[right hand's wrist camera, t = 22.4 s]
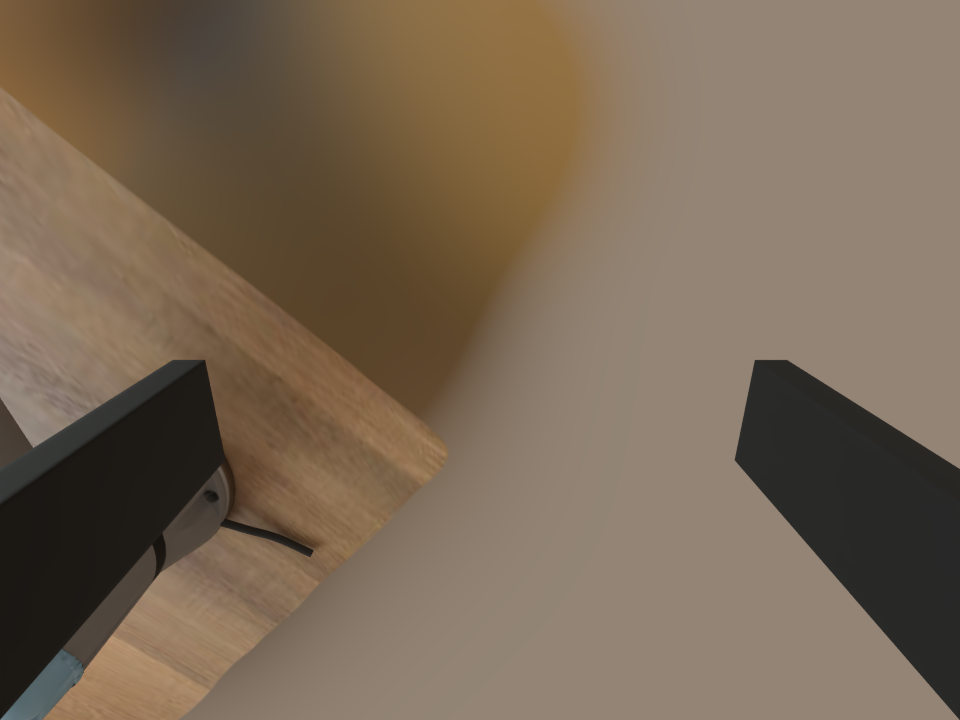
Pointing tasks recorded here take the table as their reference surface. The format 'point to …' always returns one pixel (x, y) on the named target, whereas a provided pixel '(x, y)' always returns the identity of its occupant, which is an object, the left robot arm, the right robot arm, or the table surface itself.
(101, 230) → the table surface
